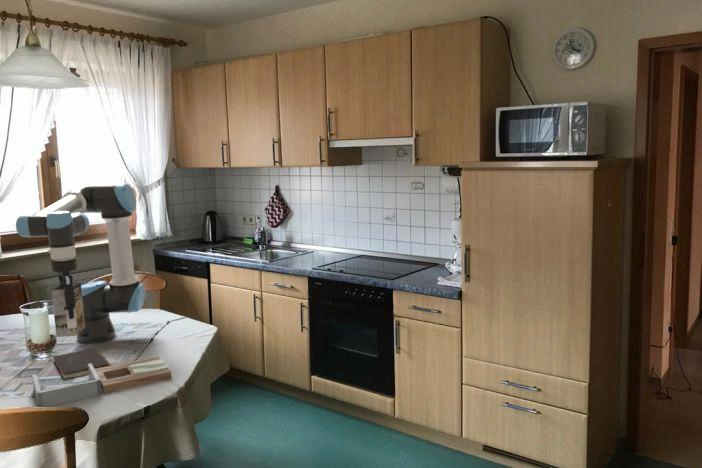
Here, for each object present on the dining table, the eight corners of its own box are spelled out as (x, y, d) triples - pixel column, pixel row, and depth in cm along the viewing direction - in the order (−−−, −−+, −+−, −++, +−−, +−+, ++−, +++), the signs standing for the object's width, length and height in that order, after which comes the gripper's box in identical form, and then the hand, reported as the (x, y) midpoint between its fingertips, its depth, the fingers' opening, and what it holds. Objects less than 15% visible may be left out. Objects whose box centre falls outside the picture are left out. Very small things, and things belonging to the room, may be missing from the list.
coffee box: (75, 336, 202) (70, 288, 199) (55, 337, 202) (50, 289, 199) (85, 327, 211) (81, 282, 208) (66, 328, 211) (61, 282, 208)
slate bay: (33, 389, 205) (32, 374, 205) (92, 377, 215) (91, 363, 214) (38, 408, 190) (36, 393, 189) (102, 394, 199) (100, 380, 198)
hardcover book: (63, 380, 214) (62, 374, 213) (53, 362, 233) (52, 356, 232) (111, 370, 222) (111, 364, 222) (98, 353, 241) (97, 347, 241)
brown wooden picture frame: (94, 375, 216) (94, 368, 215) (158, 362, 227) (157, 355, 227) (103, 393, 201) (103, 385, 200) (171, 378, 212) (171, 370, 211)
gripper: (47, 254, 210) (54, 317, 214) (54, 266, 191) (61, 334, 194) (71, 251, 214) (78, 313, 218) (80, 263, 194) (87, 330, 198)
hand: (70, 323), depth 206 cm, fingers closed on coffee box, 10 cm apart
